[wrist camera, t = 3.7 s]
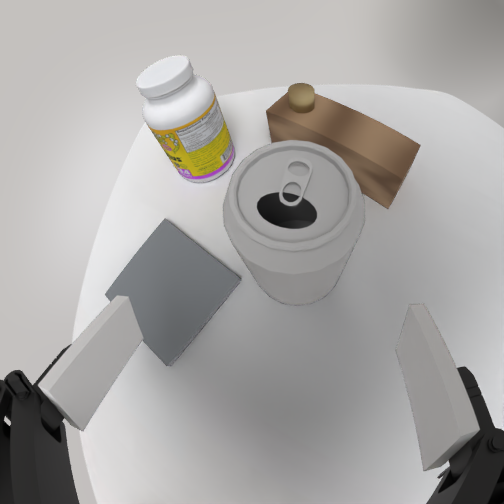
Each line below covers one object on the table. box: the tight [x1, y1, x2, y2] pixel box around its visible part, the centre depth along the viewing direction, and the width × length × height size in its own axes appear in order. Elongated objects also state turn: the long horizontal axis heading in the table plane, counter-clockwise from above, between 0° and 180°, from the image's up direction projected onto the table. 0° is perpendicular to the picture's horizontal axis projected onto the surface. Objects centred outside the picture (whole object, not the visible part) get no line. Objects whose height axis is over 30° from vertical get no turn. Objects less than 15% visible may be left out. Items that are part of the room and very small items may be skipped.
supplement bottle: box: [136, 55, 235, 183], centre depth 23 cm, size 7×7×13 cm
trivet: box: [105, 219, 241, 366], centre depth 24 cm, size 10×10×1 cm
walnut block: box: [266, 83, 420, 209], centre depth 23 cm, size 14×5×7 cm, turn 51°
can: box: [223, 140, 365, 306], centre depth 18 cm, size 8×8×12 cm
